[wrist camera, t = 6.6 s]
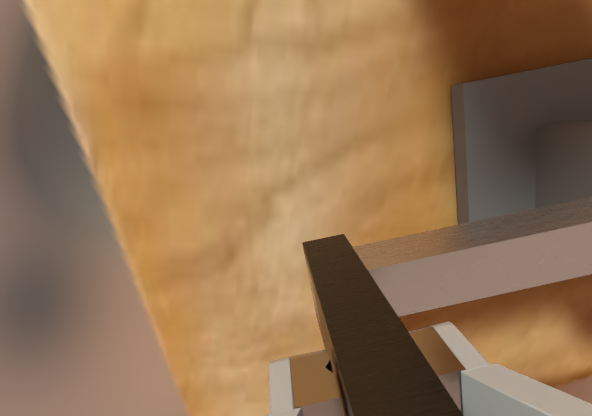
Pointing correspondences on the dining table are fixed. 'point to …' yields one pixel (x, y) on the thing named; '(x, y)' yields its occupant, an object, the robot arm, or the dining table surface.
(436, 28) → the dining table surface
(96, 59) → the dining table surface
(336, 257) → the shaft
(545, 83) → the bearing stand
